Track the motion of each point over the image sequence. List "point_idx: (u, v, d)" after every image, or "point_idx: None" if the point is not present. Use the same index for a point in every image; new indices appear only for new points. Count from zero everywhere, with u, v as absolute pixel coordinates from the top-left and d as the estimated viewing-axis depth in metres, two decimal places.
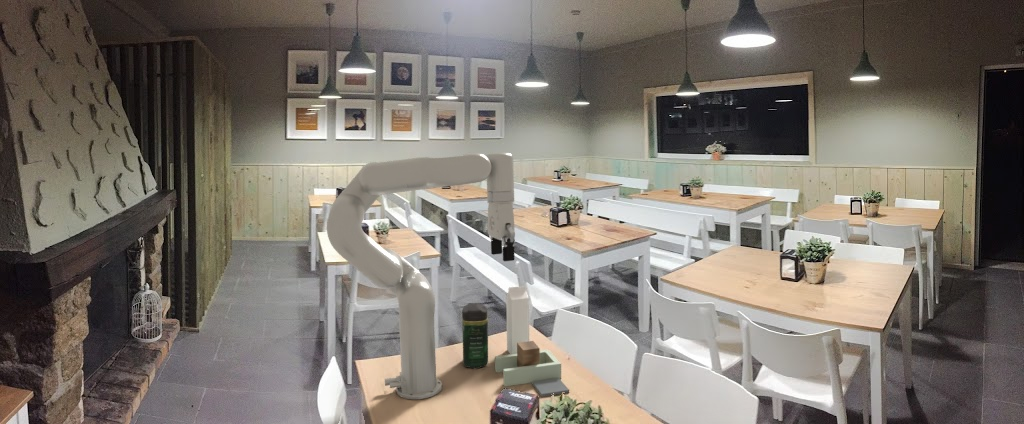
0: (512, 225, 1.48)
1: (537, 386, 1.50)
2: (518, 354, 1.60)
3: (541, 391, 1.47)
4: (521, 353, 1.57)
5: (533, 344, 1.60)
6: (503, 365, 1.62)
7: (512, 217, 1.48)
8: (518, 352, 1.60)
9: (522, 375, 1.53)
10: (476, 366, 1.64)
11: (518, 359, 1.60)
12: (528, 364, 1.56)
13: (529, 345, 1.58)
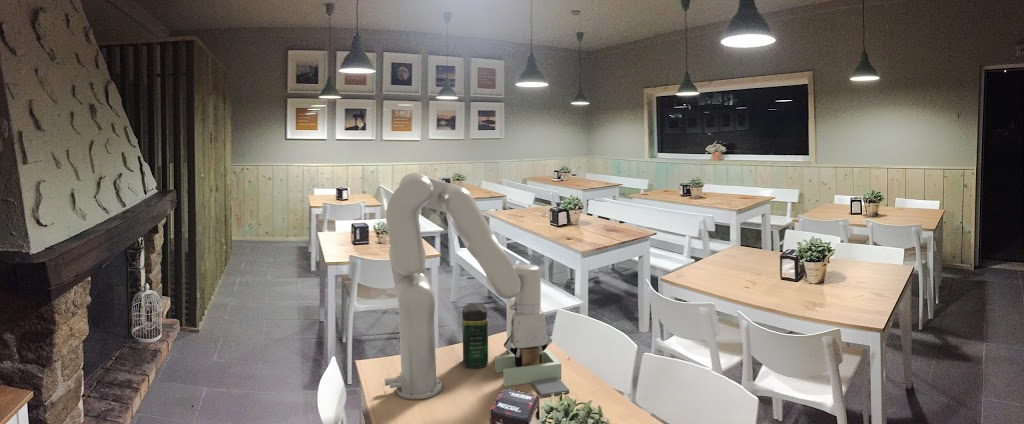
0: None
1: (537, 386, 1.50)
2: None
3: (541, 391, 1.47)
4: (521, 353, 1.57)
5: None
6: (503, 365, 1.62)
7: None
8: None
9: (522, 375, 1.53)
10: (476, 366, 1.64)
11: None
12: (528, 364, 1.56)
13: None
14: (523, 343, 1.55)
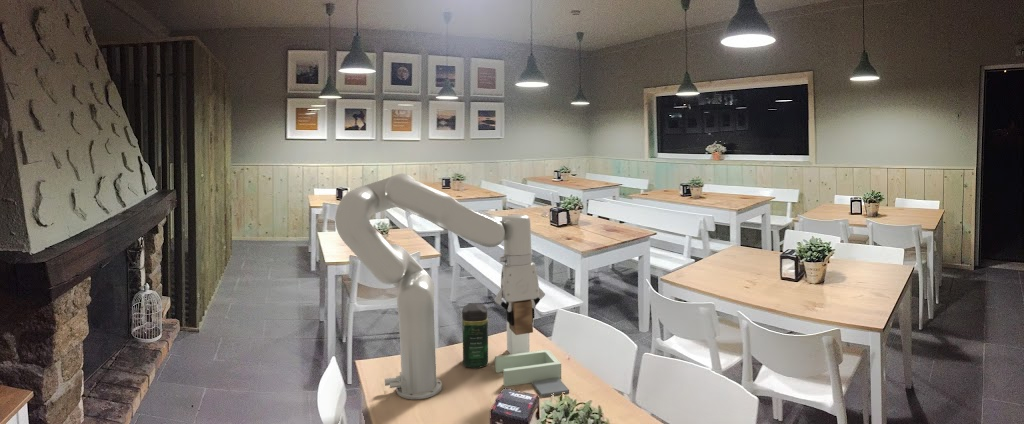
0: None
1: (537, 386, 1.50)
2: None
3: (541, 391, 1.47)
4: (512, 307, 1.49)
5: None
6: (503, 365, 1.62)
7: None
8: None
9: (522, 375, 1.53)
10: (476, 366, 1.64)
11: None
12: (520, 318, 1.49)
13: None
14: (514, 296, 1.48)
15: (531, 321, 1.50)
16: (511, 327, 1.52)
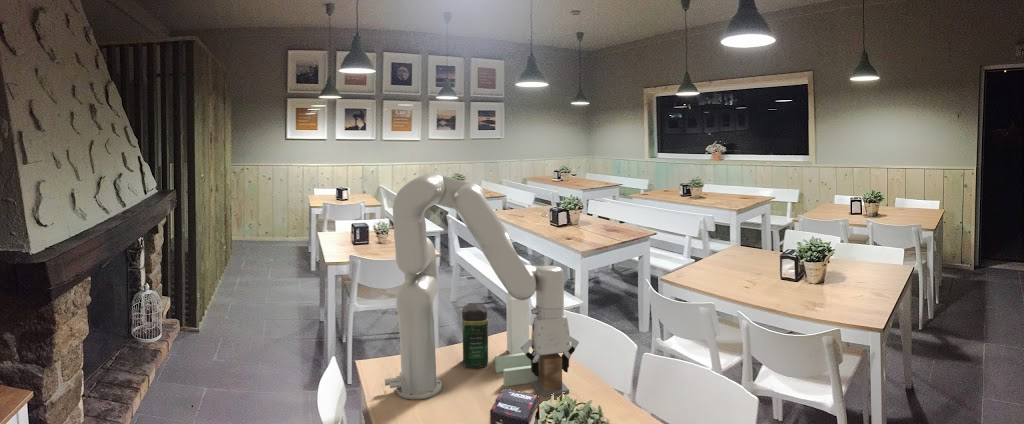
0: None
1: (537, 386, 1.50)
2: (539, 364, 1.51)
3: (541, 391, 1.47)
4: (542, 363, 1.48)
5: None
6: (503, 365, 1.62)
7: None
8: (539, 362, 1.51)
9: (522, 375, 1.53)
10: (476, 366, 1.64)
11: (539, 369, 1.51)
12: (550, 375, 1.47)
13: (551, 355, 1.49)
14: (545, 349, 1.46)
15: (561, 378, 1.48)
16: (540, 382, 1.51)
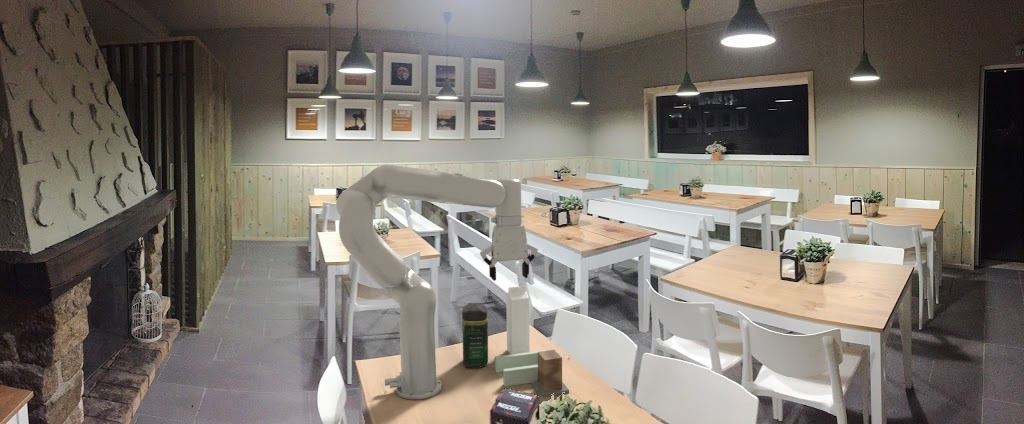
0: None
1: (537, 386, 1.50)
2: (539, 364, 1.51)
3: (541, 391, 1.47)
4: (542, 363, 1.48)
5: (555, 353, 1.50)
6: (503, 365, 1.62)
7: None
8: (539, 362, 1.51)
9: (522, 375, 1.53)
10: (476, 366, 1.64)
11: (539, 369, 1.51)
12: (550, 375, 1.47)
13: (551, 355, 1.49)
14: (504, 255, 1.55)
15: (561, 378, 1.48)
16: (540, 382, 1.51)
